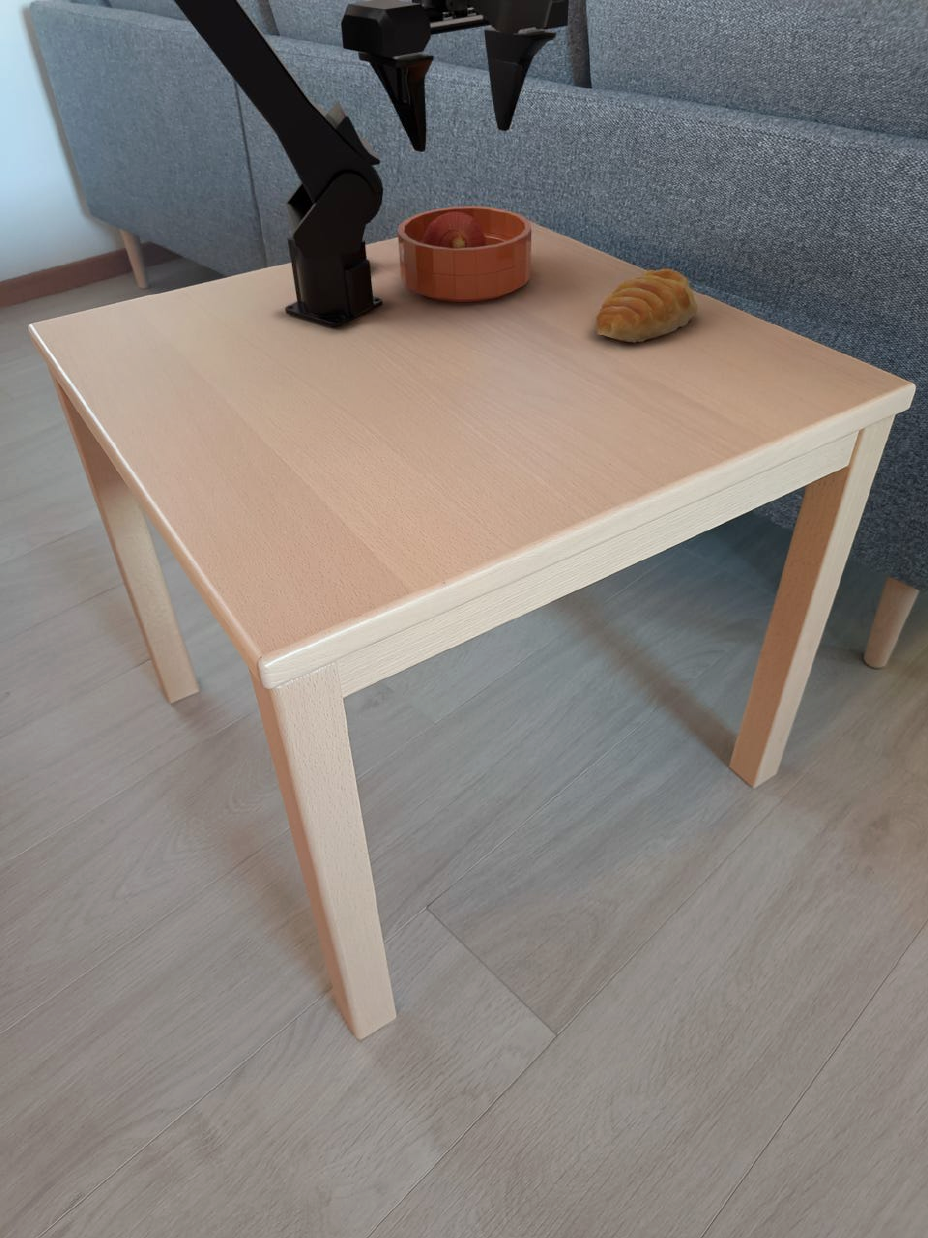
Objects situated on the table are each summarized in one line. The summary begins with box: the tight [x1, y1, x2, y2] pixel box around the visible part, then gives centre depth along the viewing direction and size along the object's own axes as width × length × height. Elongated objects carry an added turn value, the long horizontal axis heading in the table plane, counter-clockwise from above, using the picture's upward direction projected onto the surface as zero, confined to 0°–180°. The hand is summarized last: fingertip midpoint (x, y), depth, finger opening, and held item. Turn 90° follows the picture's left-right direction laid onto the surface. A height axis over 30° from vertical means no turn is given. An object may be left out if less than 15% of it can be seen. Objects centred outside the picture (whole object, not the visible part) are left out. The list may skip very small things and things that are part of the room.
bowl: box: [397, 205, 532, 303], centre depth 83 cm, size 12×12×5 cm
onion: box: [423, 212, 486, 248], centre depth 82 cm, size 6×6×8 cm
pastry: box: [595, 268, 699, 344], centre depth 75 cm, size 9×7×4 cm
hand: (462, 140), depth 74 cm, fingers open, 9 cm apart
